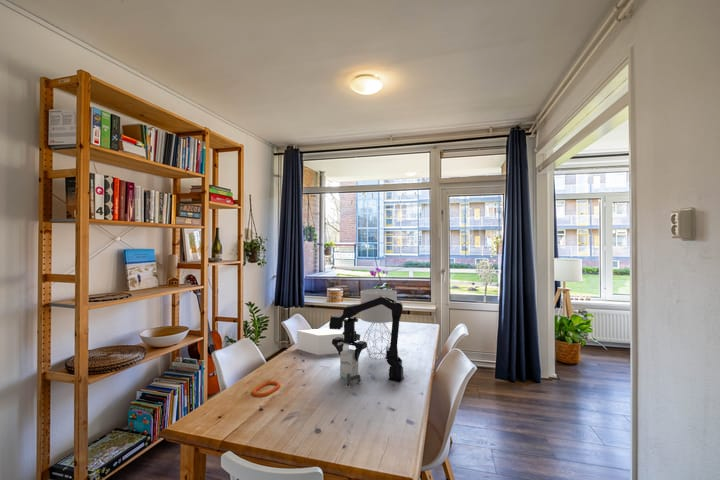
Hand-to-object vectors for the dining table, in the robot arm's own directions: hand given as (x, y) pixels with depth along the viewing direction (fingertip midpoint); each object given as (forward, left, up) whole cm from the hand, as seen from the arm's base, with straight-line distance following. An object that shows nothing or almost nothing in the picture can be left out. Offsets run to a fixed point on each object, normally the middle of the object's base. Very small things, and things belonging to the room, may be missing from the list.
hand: (349, 359), depth 170 cm
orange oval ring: (+26, +33, -9) cm, 43 cm away
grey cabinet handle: (-6, +8, -9) cm, 13 cm away
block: (+36, -27, -9) cm, 46 cm away
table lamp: (0, -35, -9) cm, 36 cm away
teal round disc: (0, 0, -9) cm, 9 cm away
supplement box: (0, 0, -8) cm, 8 cm away
